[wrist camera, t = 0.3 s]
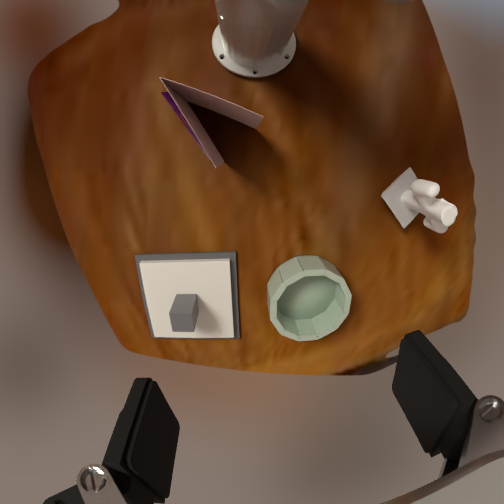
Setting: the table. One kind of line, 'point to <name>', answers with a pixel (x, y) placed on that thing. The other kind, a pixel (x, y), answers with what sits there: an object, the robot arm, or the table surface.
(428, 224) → the figurine
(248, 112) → the greeting card
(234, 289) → the mat
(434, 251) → the table surface
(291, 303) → the bowl
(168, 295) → the lid
